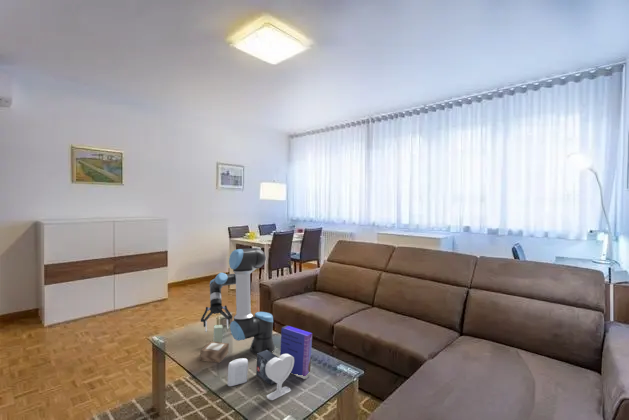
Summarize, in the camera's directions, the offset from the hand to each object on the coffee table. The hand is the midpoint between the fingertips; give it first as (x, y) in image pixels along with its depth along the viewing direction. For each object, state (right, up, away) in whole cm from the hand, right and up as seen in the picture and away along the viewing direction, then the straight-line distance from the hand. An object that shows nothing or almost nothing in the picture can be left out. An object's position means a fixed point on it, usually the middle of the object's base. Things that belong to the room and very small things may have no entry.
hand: (217, 330), depth 207 cm
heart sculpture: (+46, -12, -50) cm, 69 cm away
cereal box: (+53, -12, -31) cm, 62 cm away
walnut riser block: (+4, -9, -18) cm, 20 cm away
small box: (+39, -12, -37) cm, 55 cm away
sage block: (+1, -9, -2) cm, 9 cm away
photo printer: (+24, -11, -43) cm, 51 cm away
